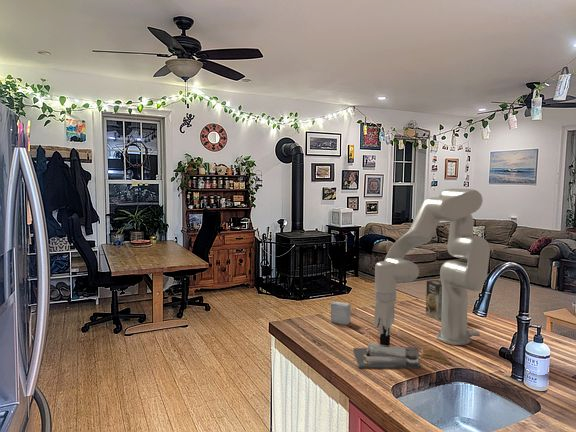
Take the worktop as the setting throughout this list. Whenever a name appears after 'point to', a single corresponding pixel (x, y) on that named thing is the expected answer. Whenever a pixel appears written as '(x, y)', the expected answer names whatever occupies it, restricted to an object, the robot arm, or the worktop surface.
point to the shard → (434, 355)
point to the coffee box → (434, 299)
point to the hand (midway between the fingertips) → (384, 344)
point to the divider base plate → (378, 365)
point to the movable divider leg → (393, 350)
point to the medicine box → (340, 313)
